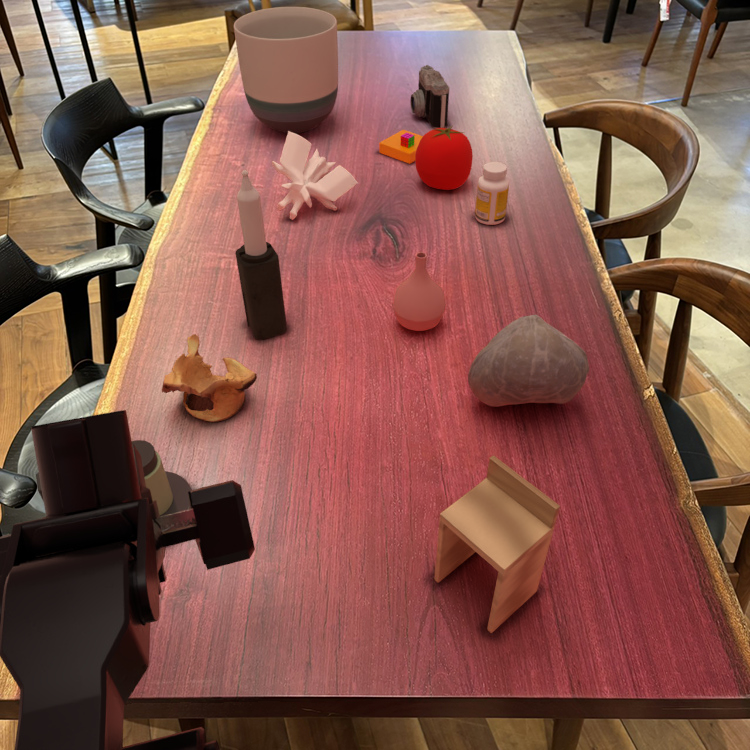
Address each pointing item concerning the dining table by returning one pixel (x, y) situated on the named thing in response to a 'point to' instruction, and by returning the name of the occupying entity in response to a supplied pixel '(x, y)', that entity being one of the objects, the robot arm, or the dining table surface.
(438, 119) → the camera
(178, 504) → the trivet
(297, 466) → the dining table surface
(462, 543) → the miniature wooden chair
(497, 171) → the supplement bottle
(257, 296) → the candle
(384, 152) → the orange square tile
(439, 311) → the pink bud vase
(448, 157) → the tomato
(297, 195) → the figurine
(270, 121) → the planter
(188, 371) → the bone
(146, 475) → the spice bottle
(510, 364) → the decorative stone
